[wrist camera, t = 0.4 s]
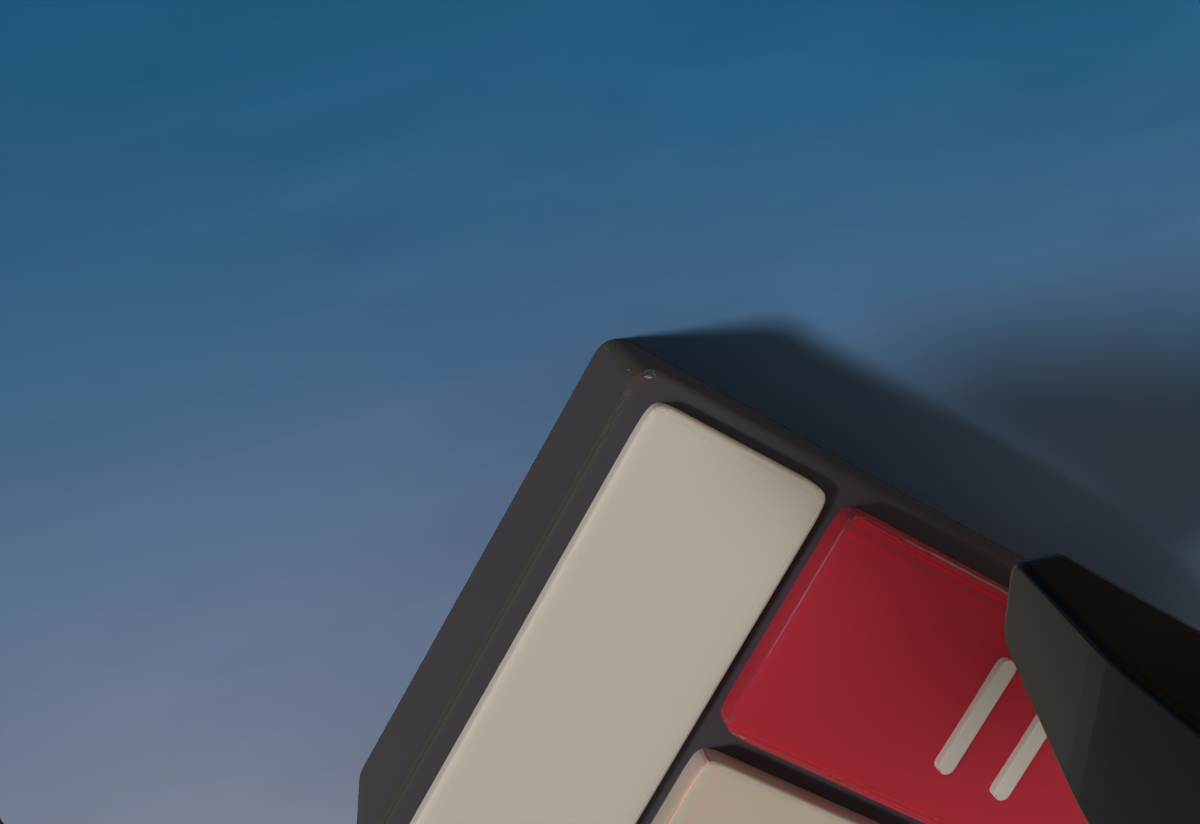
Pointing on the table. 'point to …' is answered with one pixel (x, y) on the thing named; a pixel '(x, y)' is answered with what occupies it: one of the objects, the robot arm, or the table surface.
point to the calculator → (715, 640)
